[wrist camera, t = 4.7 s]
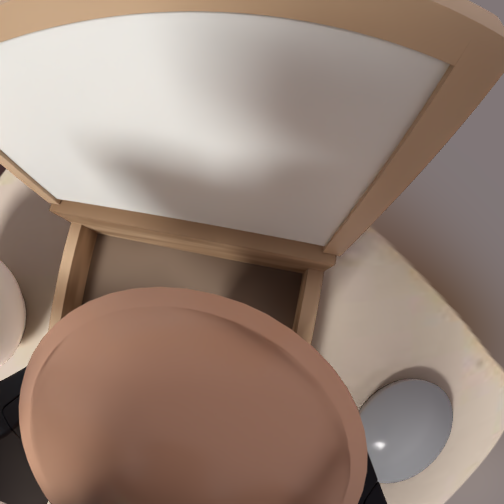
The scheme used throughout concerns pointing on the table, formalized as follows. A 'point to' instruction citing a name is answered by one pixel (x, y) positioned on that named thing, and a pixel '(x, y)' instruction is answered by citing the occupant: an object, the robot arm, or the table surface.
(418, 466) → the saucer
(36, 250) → the table surface
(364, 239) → the table surface
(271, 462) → the tan cylindrical canister
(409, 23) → the lid
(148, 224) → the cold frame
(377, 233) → the table surface
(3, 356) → the lidded jar
